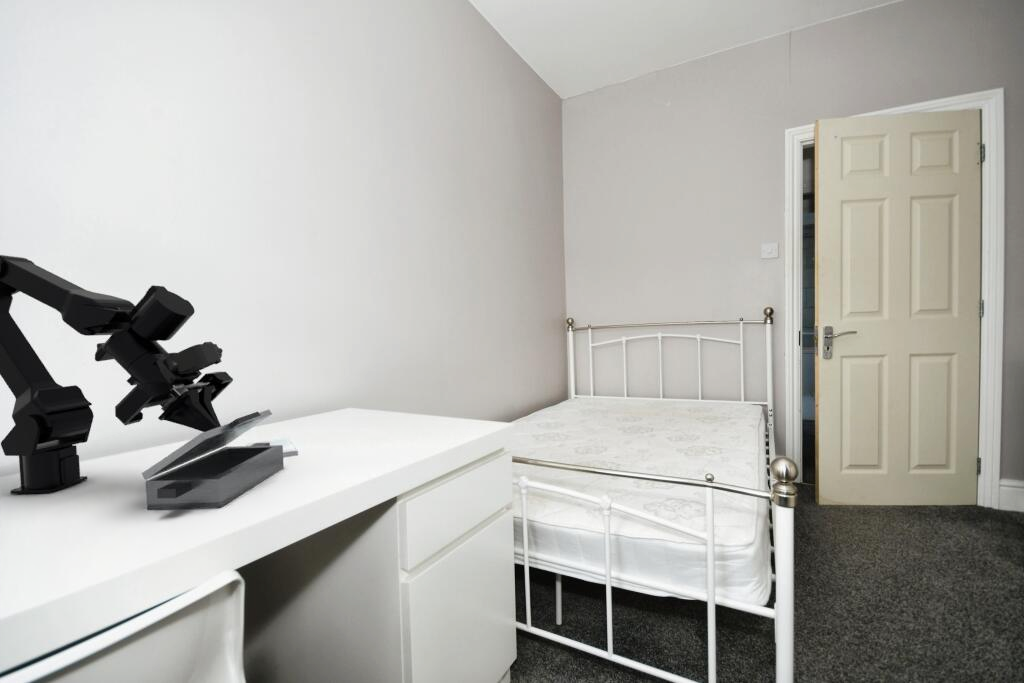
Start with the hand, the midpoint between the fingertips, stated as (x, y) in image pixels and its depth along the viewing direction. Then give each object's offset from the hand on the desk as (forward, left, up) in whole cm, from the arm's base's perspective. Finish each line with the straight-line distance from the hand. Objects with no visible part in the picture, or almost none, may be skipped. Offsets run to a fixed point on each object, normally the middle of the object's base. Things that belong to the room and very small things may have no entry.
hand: (219, 433), depth 73 cm
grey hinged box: (0, 0, -8) cm, 8 cm away
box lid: (0, 0, -1) cm, 1 cm away
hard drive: (-3, +20, -9) cm, 23 cm away
